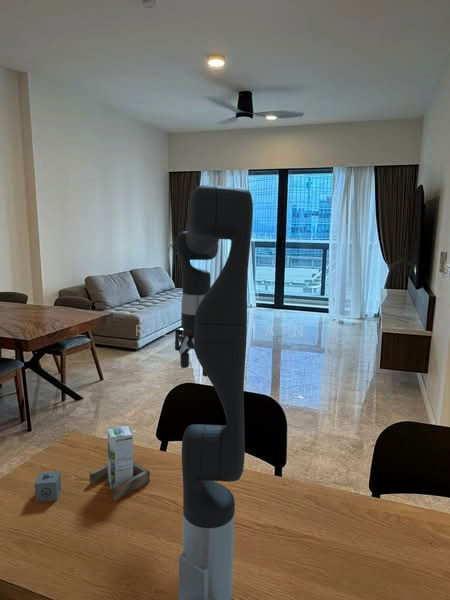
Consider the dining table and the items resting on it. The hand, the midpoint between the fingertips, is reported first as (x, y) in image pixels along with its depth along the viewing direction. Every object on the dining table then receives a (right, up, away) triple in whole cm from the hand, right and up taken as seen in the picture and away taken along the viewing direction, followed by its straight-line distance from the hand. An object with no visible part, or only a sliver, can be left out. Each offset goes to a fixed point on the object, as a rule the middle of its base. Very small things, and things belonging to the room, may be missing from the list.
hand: (195, 371), depth 112 cm
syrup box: (-20, -30, +2) cm, 36 cm away
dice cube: (-37, -31, -4) cm, 48 cm away
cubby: (-20, -30, +2) cm, 36 cm away
